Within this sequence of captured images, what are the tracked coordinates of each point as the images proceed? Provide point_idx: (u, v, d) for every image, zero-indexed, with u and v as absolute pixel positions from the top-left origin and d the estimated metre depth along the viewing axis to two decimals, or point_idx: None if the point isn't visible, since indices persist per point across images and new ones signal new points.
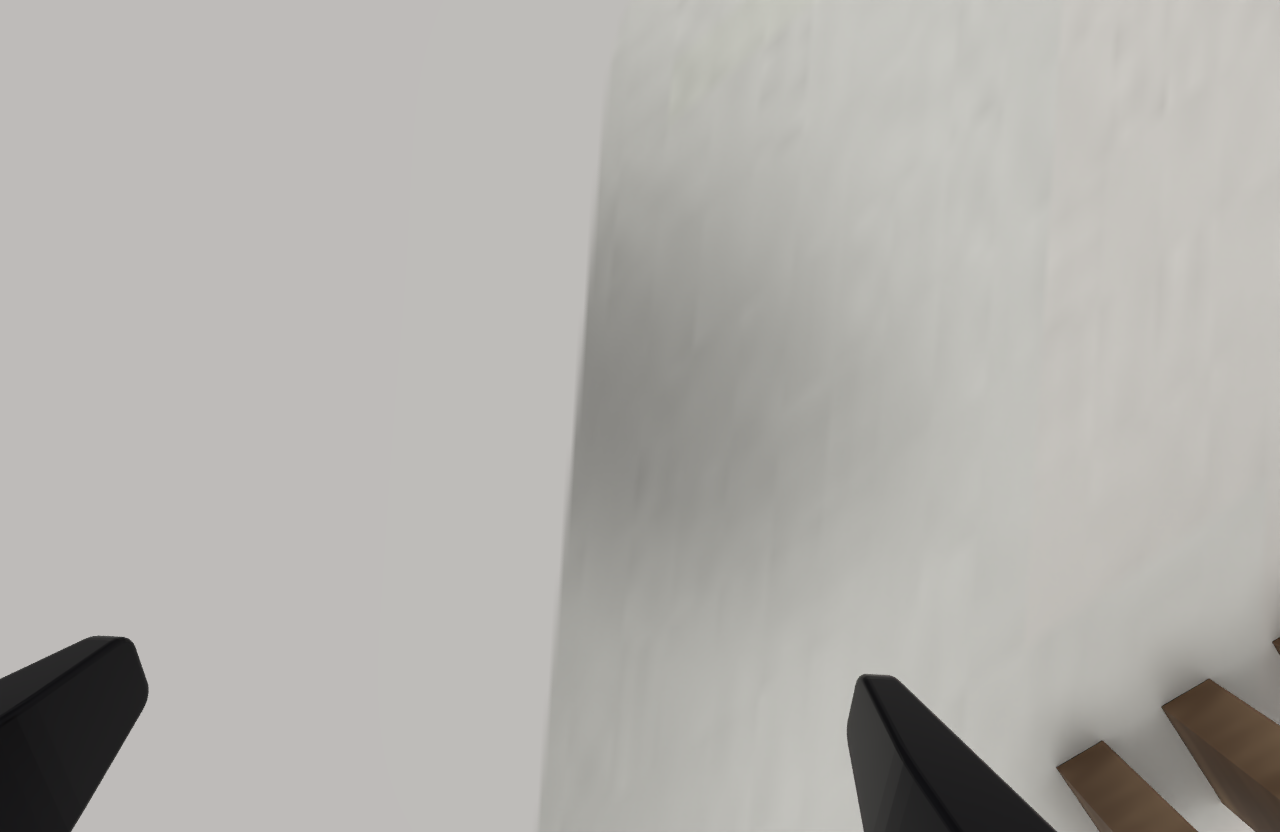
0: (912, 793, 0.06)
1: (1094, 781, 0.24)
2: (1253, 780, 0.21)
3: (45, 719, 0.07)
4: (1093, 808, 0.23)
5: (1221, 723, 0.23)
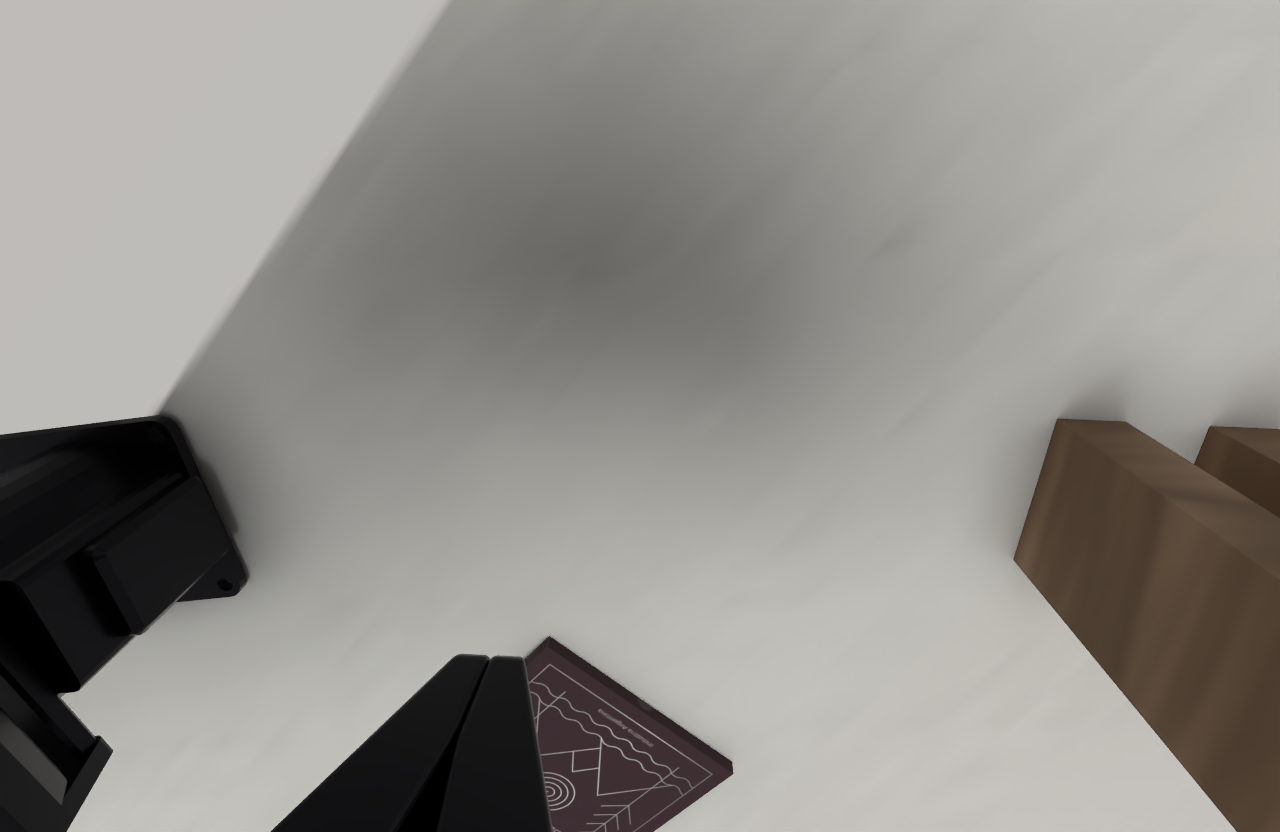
0: None
1: (1107, 437, 0.18)
2: None
3: None
4: (1101, 450, 0.18)
5: None
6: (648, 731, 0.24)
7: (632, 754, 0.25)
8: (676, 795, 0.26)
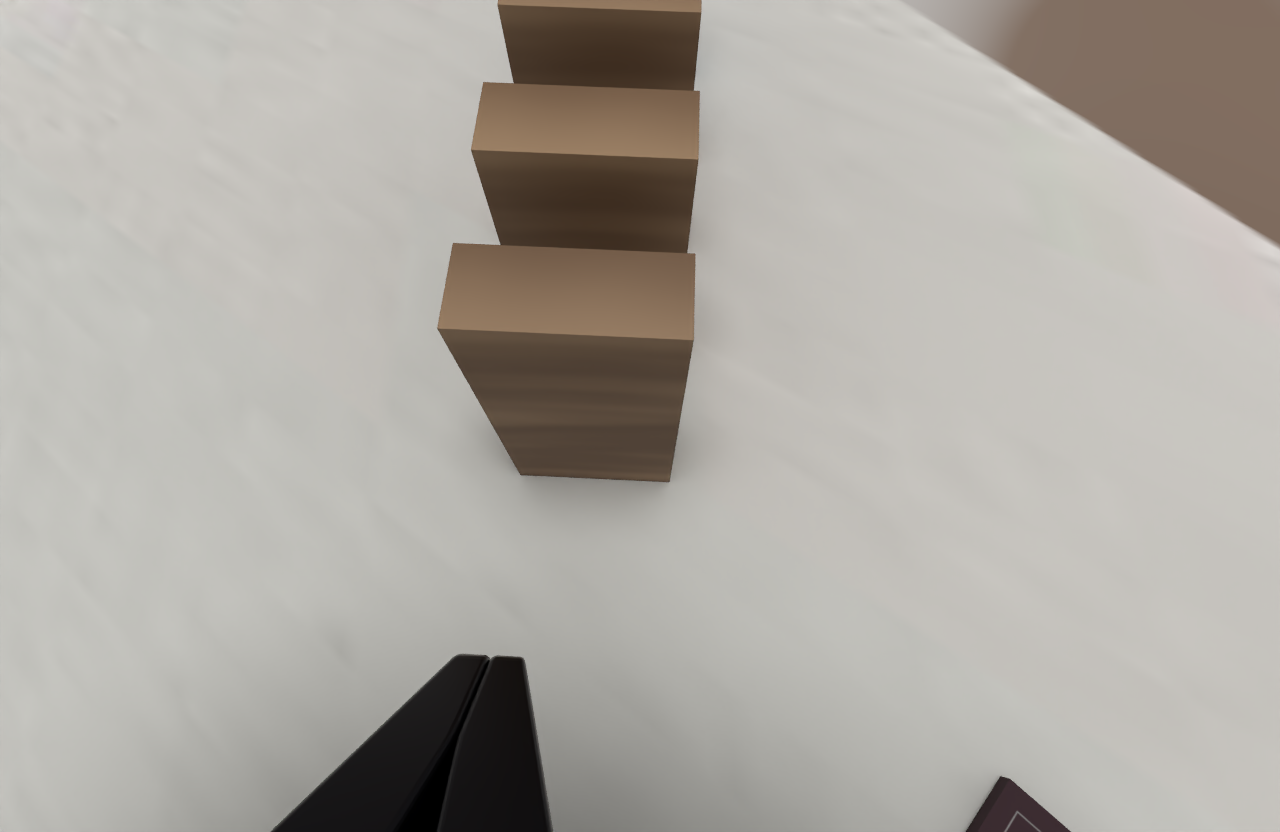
0: None
1: None
2: None
3: None
4: (510, 454, 0.20)
5: None
6: None
7: None
8: None
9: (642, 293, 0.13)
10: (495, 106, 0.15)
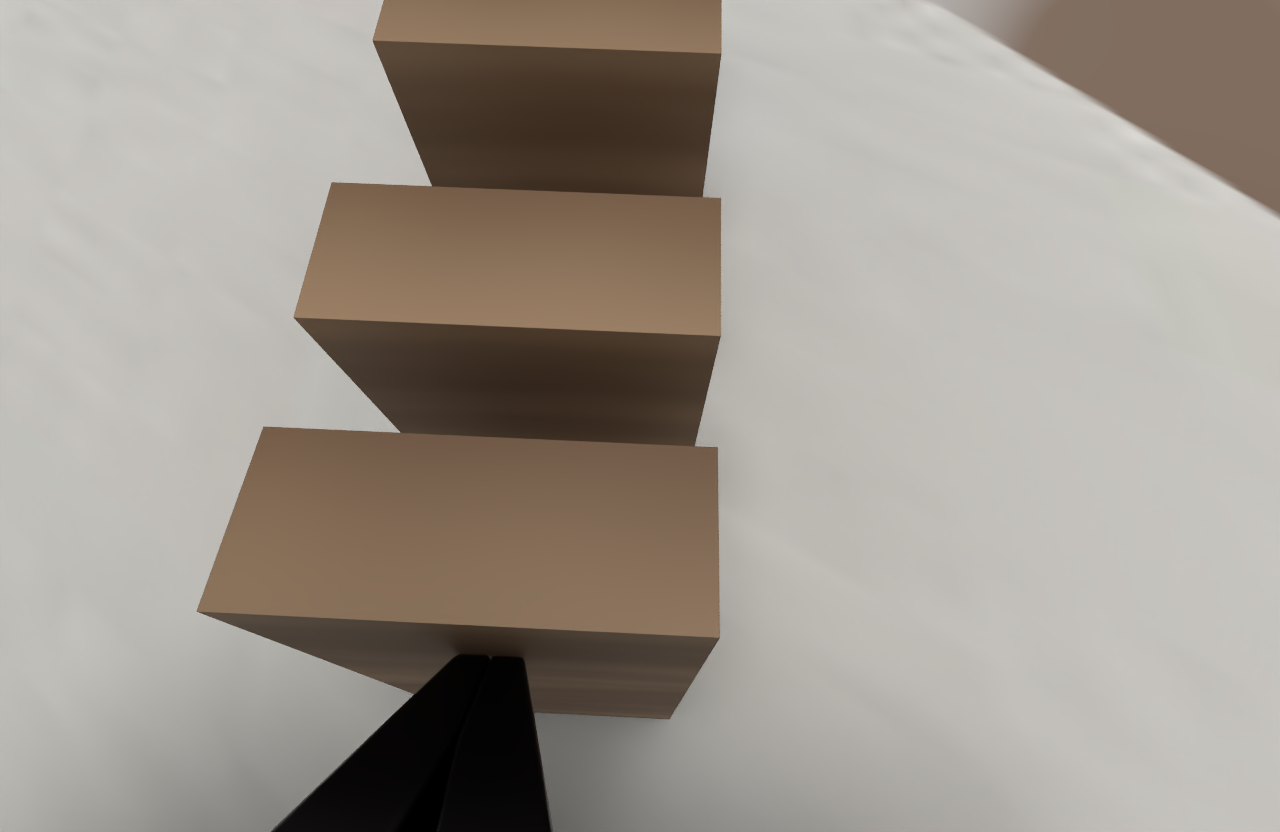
0: None
1: None
2: None
3: None
4: None
5: None
6: None
7: None
8: None
9: (615, 530, 0.07)
10: (348, 229, 0.08)
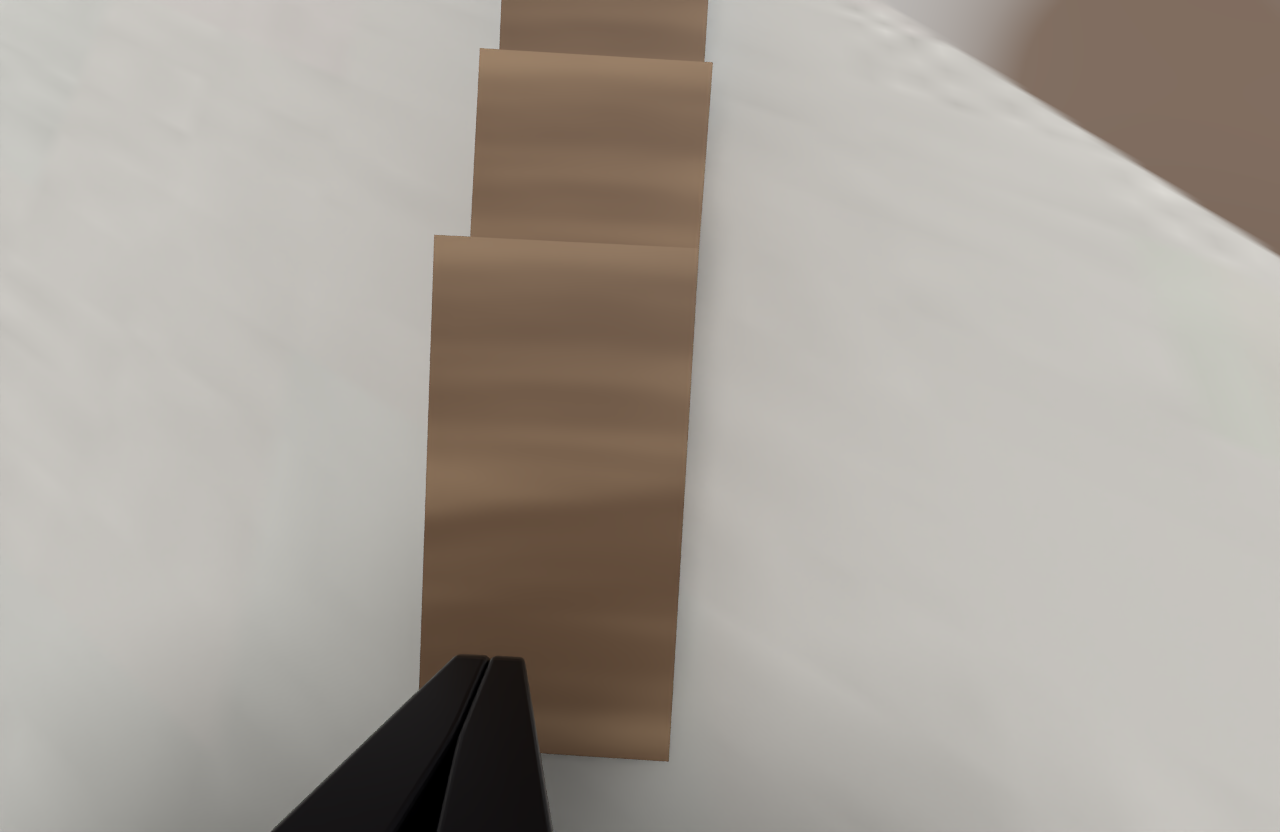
0: None
1: None
2: None
3: None
4: (422, 643, 0.13)
5: None
6: None
7: None
8: None
9: None
10: None
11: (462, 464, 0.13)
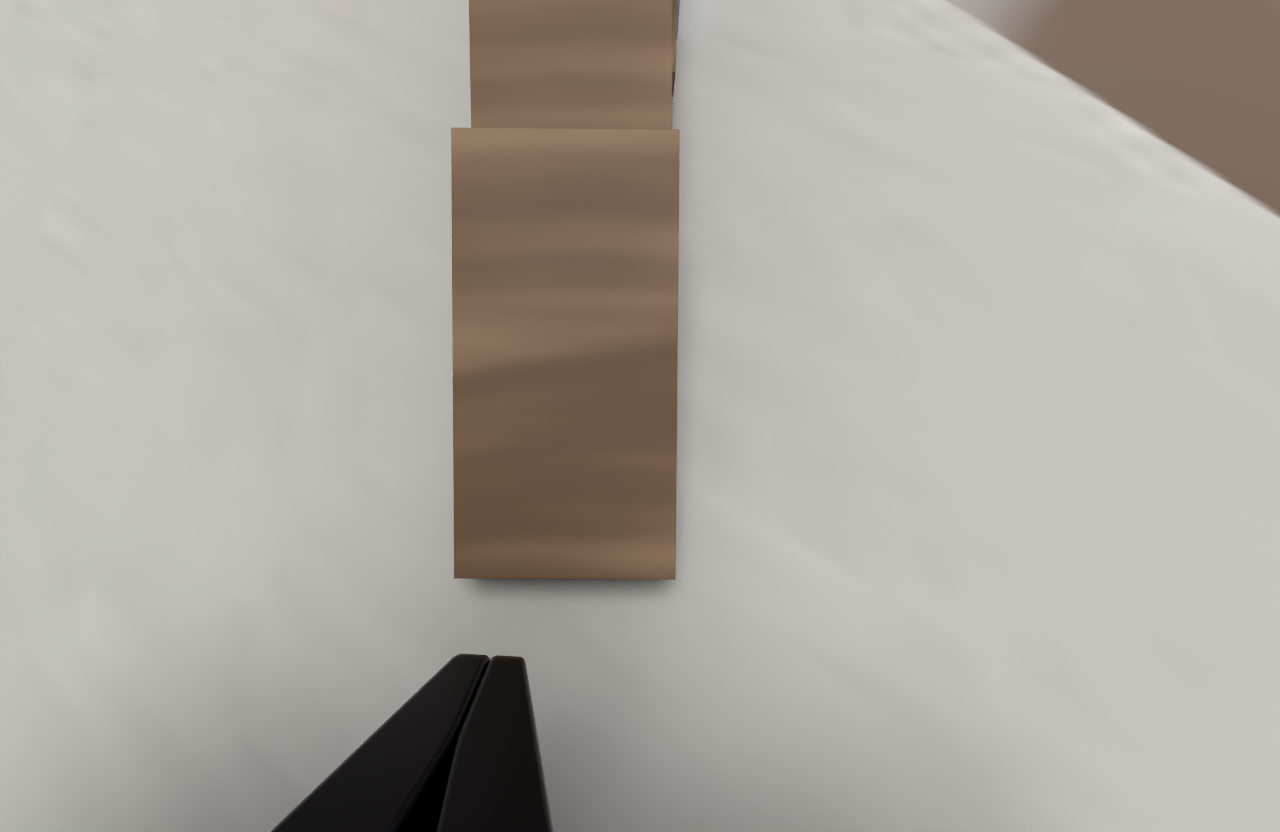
0: None
1: None
2: None
3: None
4: (455, 487, 0.15)
5: None
6: None
7: None
8: None
9: None
10: None
11: (484, 326, 0.15)
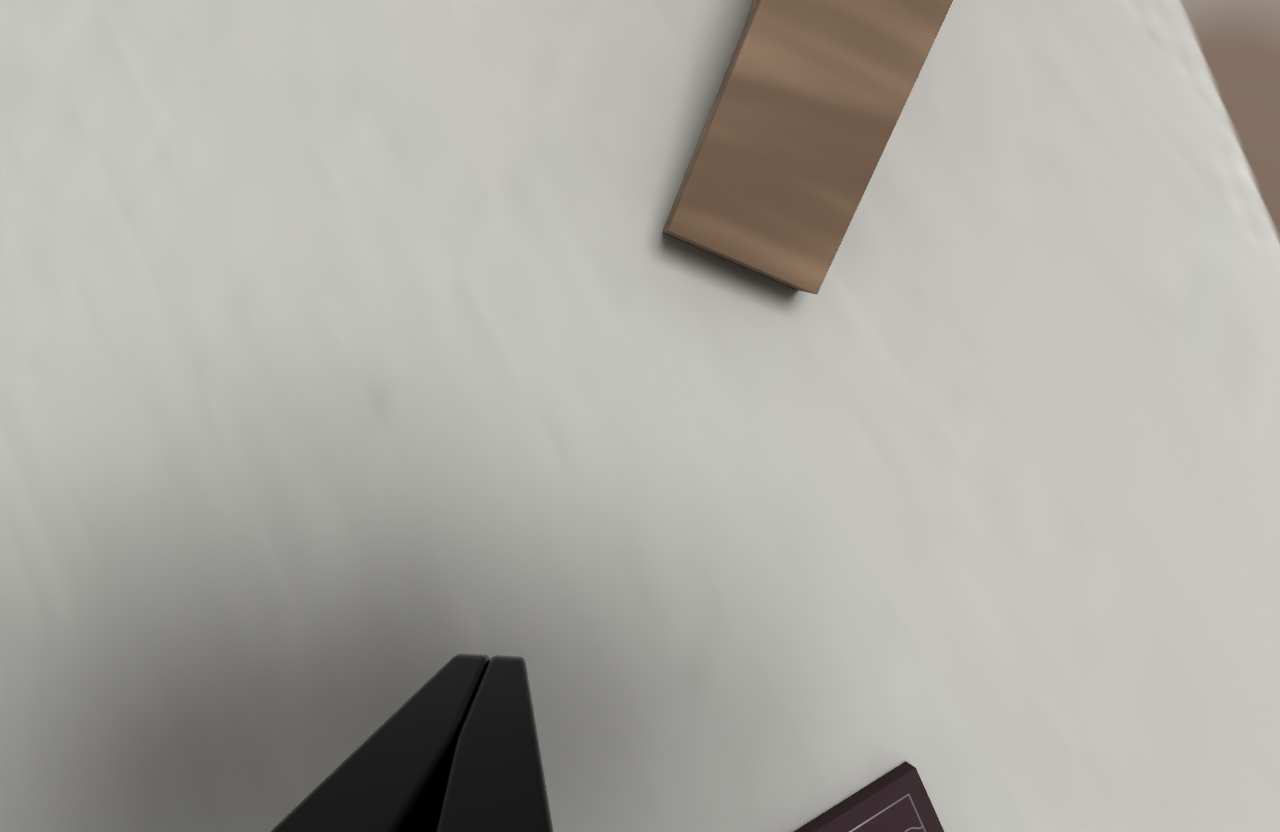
0: None
1: (682, 191, 0.20)
2: None
3: None
4: (696, 162, 0.19)
5: None
6: None
7: None
8: None
9: None
10: None
11: (769, 46, 0.19)
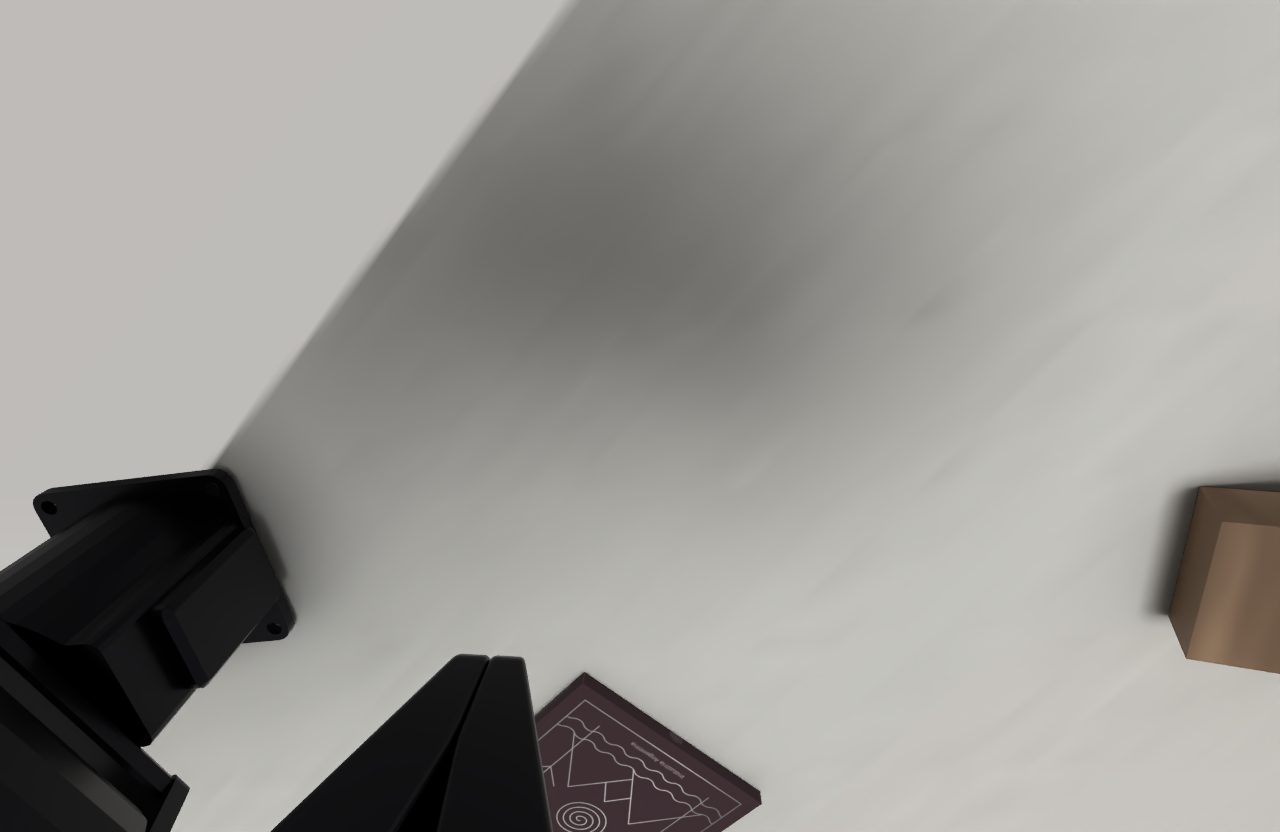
0: None
1: (1269, 513, 0.19)
2: None
3: None
4: None
5: None
6: (679, 764, 0.25)
7: (663, 785, 0.25)
8: (705, 824, 0.26)
9: None
10: None
11: None
